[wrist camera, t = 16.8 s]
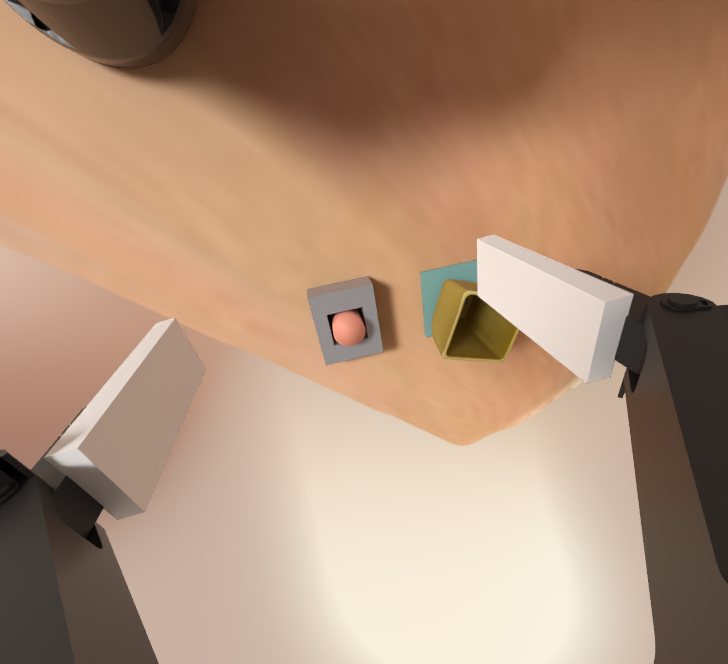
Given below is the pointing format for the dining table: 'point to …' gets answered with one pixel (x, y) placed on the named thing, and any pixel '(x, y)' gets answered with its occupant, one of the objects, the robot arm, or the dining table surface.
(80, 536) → the robot arm
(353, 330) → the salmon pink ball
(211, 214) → the dining table surface
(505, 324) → the flower pot
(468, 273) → the pad
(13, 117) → the dining table surface
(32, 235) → the dining table surface
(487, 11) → the dining table surface
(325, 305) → the housing
